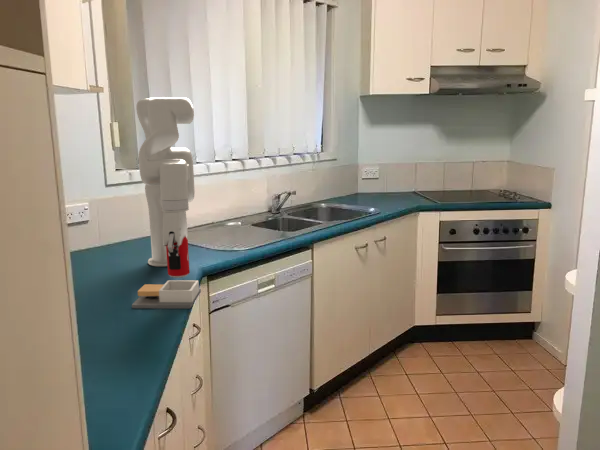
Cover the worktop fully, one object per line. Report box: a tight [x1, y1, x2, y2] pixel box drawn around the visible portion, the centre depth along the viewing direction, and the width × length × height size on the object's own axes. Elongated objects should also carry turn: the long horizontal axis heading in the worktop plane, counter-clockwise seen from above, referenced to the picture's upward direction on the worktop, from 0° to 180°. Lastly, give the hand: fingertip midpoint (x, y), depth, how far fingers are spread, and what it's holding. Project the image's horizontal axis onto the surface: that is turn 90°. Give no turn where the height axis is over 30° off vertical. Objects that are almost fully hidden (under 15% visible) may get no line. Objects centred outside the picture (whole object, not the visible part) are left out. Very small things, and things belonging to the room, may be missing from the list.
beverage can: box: [166, 235, 191, 279], centre depth 148 cm, size 6×6×12 cm
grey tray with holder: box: [131, 279, 202, 310], centre depth 150 cm, size 14×17×4 cm
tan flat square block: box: [137, 283, 165, 297], centre depth 150 cm, size 6×6×2 cm
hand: (178, 265), depth 149 cm, fingers closed on beverage can, 6 cm apart
